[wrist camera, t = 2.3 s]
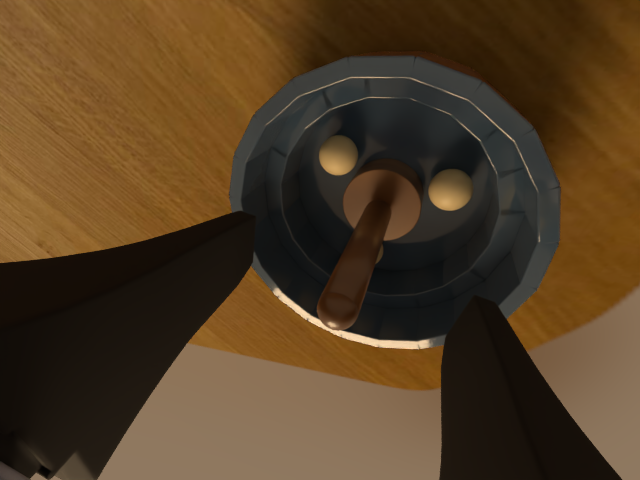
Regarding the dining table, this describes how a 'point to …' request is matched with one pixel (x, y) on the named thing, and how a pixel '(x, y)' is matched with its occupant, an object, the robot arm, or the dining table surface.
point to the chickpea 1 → (338, 155)
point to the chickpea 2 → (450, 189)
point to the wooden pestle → (369, 233)
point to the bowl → (434, 223)
